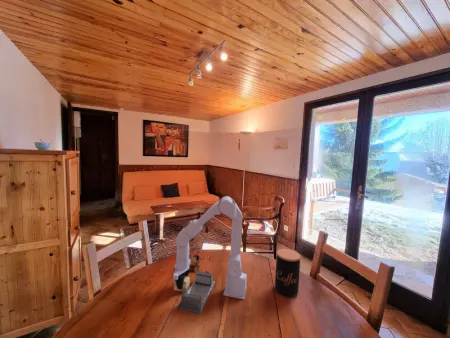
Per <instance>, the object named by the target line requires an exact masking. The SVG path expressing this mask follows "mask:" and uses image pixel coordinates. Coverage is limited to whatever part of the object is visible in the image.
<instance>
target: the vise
mask: <svg viewBox="0 0 450 338" xmlns="http://www.w3.org/2000/svg"><path fill="white" fill-rule="evenodd" d="M215 284H216V281H215V280H212V284H211V285H207V284H202V283H197V282H196V278H195V279H194V281H193V282H192V283H191V285H190V286H189V289H188V290H187V292H182V294H181V297H180V298H181V299H180V302H179V303H178V305H177V309H179V310H184V311H187V312H191V313H197V314H200V315H201V313H202V312H203V309H204V308H205V305H206V303H207V301H208V300H209V296H210V295H211V292H212V290H213V289H214V286H215Z"/></svg>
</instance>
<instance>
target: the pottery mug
mask: <svg viewBox="0 0 450 338" xmlns="http://www.w3.org/2000/svg"><path fill="white" fill-rule="evenodd" d="M189 259H191V263H190V264H189V266H190V267H191V264H193V265H194V266H195V267H194V268H193V271H194V273H197V271H199V268H200V267H199V261H200V255H199V254H198V253H196V254H194V255H192V254H189Z"/></svg>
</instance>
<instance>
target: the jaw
mask: <svg viewBox="0 0 450 338" xmlns="http://www.w3.org/2000/svg"><path fill="white" fill-rule="evenodd" d="M195 279H196V282H197V283H202V284H207V285H211V284H212V281H213V273H212V272H211V273H210V271H209V270H206V271H199V270H197V272H195Z"/></svg>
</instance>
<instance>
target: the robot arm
mask: <svg viewBox="0 0 450 338" xmlns="http://www.w3.org/2000/svg"><path fill="white" fill-rule="evenodd" d="M221 214H223V215H225V216H227V217H228V218H230V219H231V222H232V223H231V237H230V239H231V240H230V253H229V256H228V258H227V264H228V265H227V270H226V278H225V280H226V281H225V289H224V291H223V296H227V297H231V298H235V299H241V300H245V298H246V292H247V281H248V280H247V279H248V277H247V273H244V272H243V269H242V259H241V251H242V249H241V248H242V231H243V230H242V229H243V214H242V211H241V210H240V208H239V206H238V204H237V203H236V201H235V199H233V198H232V197H230V196H228V195H225V196H223V197H221V198H220V199H219V200H216V202H215V203H213V204H212V205H211V206H210V207H209V208H208V209H207V210H206V211H205V212H204V213H203V214H202V215H201V216H200V217H199V218H198V219H193V220H190V221H189V222H188V225H187V226H186V227H183V228H182V229H181V231H179V232H178V235H177V236H175V244H176V257H175V258H176V259H175V260H176V262H175V264H174V265H173V268H174V272H173V274H172V280H173V281H174V280H175V281H176V285H177V289H182V287H183V282H184V278H185V276H187V277H189V274H190V271H191V270H192V267H191V264H192V262H191V259H189V255H190V240H192V239H193V238H194V237H195V236H196V235H198V234H199V233H200V232H201V231H202V230H203V225H204V224H206V223H207V222H208V221H210V220H211V219H212V218H213V217H214V216H216V215H221ZM189 264H190V266H189Z"/></svg>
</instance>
